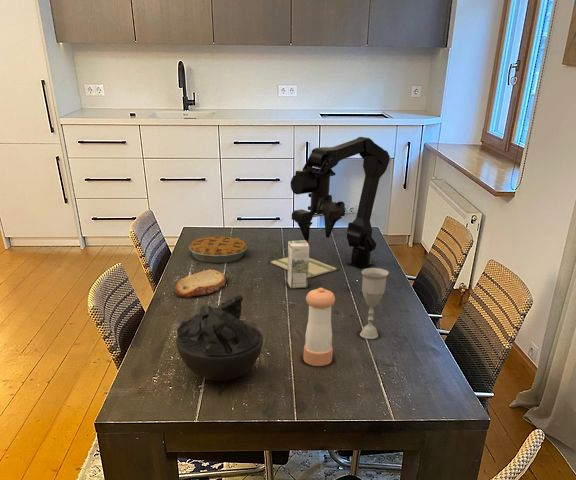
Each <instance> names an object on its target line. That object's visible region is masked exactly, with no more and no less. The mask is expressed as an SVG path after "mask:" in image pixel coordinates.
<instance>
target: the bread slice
mask: <svg viewBox="0 0 576 480" xmlns="http://www.w3.org/2000/svg"><path fill="white" fill-rule="evenodd" d="M226 282H227V280H226V276H225V274H224V273H223V272H221V271H219V270H215V269H208V270H202V271H199V272H196V273H194V274H191V275H188V276H185V277H182V278H180V279H179V280H178V281H177V283H176V285H175V287H174V291H175V293H176V294H177V296H178V297H180V298H186V299H191V298H194V297H202V296H207V295H210V294H213V293H215V292H217V291H219V290H220V289H221V288H223V287H224V286H225V284H226Z"/></svg>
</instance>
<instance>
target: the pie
mask: <svg viewBox="0 0 576 480" xmlns="http://www.w3.org/2000/svg"><path fill="white" fill-rule="evenodd" d="M247 249H248V244H247V242H246V241H245V240H243V239H241V238H239V237H232V236H229V235H226V236H222V235H216V236H205V237H198V238H196V240H195V239H193V240H191V243H189V245H188V251H190V252H191V254H192V256H193V258H195V259H196V260H197V261H200V262H204V263H214V264H217V263H218V264H220V263H230V262H236V261H238V260H240V259H241V258H242V257H244V254H245V252H246V250H247Z"/></svg>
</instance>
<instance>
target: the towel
mask: <svg viewBox="0 0 576 480" xmlns="http://www.w3.org/2000/svg"><path fill="white" fill-rule="evenodd" d="M270 264H273V265H274V266H278V267H280V268H282V269H284V270H286V271H288V256H287V257H283V258H279V259H274V260H271V261H270ZM337 270H338V268H337V267H334V266H331V265H329V264H326V263H324V262H321V261H319V260H316V259H314V258H311V257H309V265H308V279H309V278H314V277H316V276H317V277H318V276H321V275H324V274H327V273H331V272H335V271H337Z"/></svg>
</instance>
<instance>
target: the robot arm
mask: <svg viewBox="0 0 576 480" xmlns="http://www.w3.org/2000/svg"><path fill="white" fill-rule="evenodd" d="M356 155H359V156H360V157H361V158H362V159H363V162H362V168H363V172H364V180H363V184H362V189H361V194H360V198H359V202H358V207H357V211H356V216H355V218H354V219H353V221H352V222H351V221H350V222H348V224H347V229H346V232H345V234H346V240H347V242H348V246H349V247H352V252H351V261H348V265H350V266H354V267H356V268H359V269H363V268H366V267H370V266H373V265H374V263H373V262H370V261H371V252H373V251H374V250H375V249H376V247H377V242H376V241H375V240H374V238H373V237H372V235H373V227H372V224H371V218H372V213H373V209H374V205H375V200H376V197H377V192H378V187H379V182H380V179H381V178H382V176H383V175H384V174H385V173H386V172H387V169H388V166H389V163H390V160H391V156H390V153H389V152H388V150H385V149H384V148H383V147H382V146H379V145H378V144H377V143H375V141H373V140H372V139H371V138H370V137H365V136H358V137H357V138H355V139H352V140H349V141H346V142H343V143H340V144H338V145H335V146H330V147H329V146H322V147H315V148H313V149H312V150H311V153H310V155H309V157H308V159H307V160H306V162H305V164H304V166H303V167H302V170H295V172H294V173H295V174H294V175H293V176H292V177H291V180H290V190H291V192H292V193H293V194H294V195H304V194H307V196H308V198H310V205H308V206H307V209H306V210H305V209H295V210H293V211H291V220H293V221H294V223H297V226H298V228H299V229H300V232H301V234H302V236H303V240H305V241H306V242H307V243H308V242H309V239H310V230H311V226H312V225H313V222H312V220H313V218H317V217H324V219H323V220H324V230H325V231H324V233H325V238H327V239H329V238H330V236H331V234H332V232H333V229H334V227H335V225H336V223H337V222H338V221H339V220H342V218H343V217H345V216H346V215H345V214H346V207H345V205H346V204H345V202H344V201H341V200H340V201H335V202H334V201H333V195H332V194H330V185H331V177H333V176H336V172H335V171H333V168H335V167H336V166H337V165H338V164H339V162H341V161H342V160H344V159H345V160H346V159H348V158H351V157H354V156H356Z"/></svg>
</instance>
